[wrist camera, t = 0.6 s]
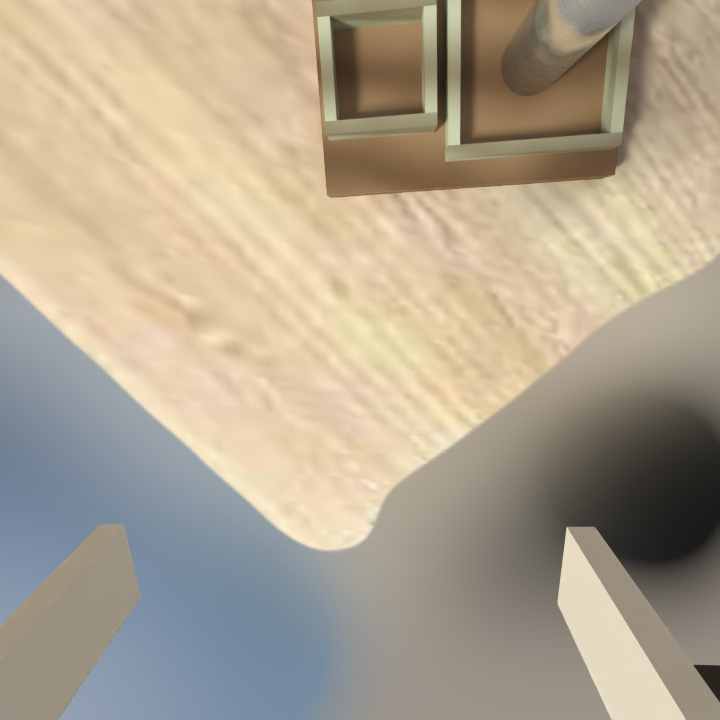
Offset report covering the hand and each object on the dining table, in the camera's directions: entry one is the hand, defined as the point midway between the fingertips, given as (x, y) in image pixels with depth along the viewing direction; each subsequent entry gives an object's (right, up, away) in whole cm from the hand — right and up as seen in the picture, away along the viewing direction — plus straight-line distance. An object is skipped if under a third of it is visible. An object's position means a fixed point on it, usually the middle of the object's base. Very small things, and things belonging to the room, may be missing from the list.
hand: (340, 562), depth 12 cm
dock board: (+8, +27, +18) cm, 33 cm away
